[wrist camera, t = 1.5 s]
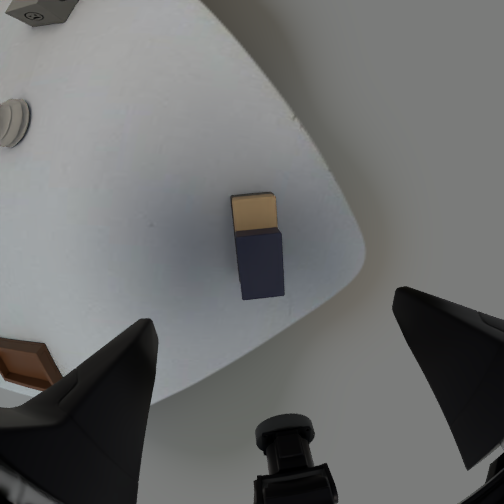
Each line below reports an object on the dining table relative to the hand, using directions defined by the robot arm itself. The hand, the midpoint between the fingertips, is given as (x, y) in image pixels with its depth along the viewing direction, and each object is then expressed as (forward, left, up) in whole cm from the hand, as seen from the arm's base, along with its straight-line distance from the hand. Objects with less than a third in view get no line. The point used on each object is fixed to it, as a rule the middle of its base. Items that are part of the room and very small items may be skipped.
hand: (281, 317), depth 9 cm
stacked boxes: (0, 0, -11) cm, 11 cm away
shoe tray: (-12, +30, -11) cm, 34 cm away
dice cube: (+25, +16, -11) cm, 32 cm away
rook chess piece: (+13, +20, -11) cm, 26 cm away
